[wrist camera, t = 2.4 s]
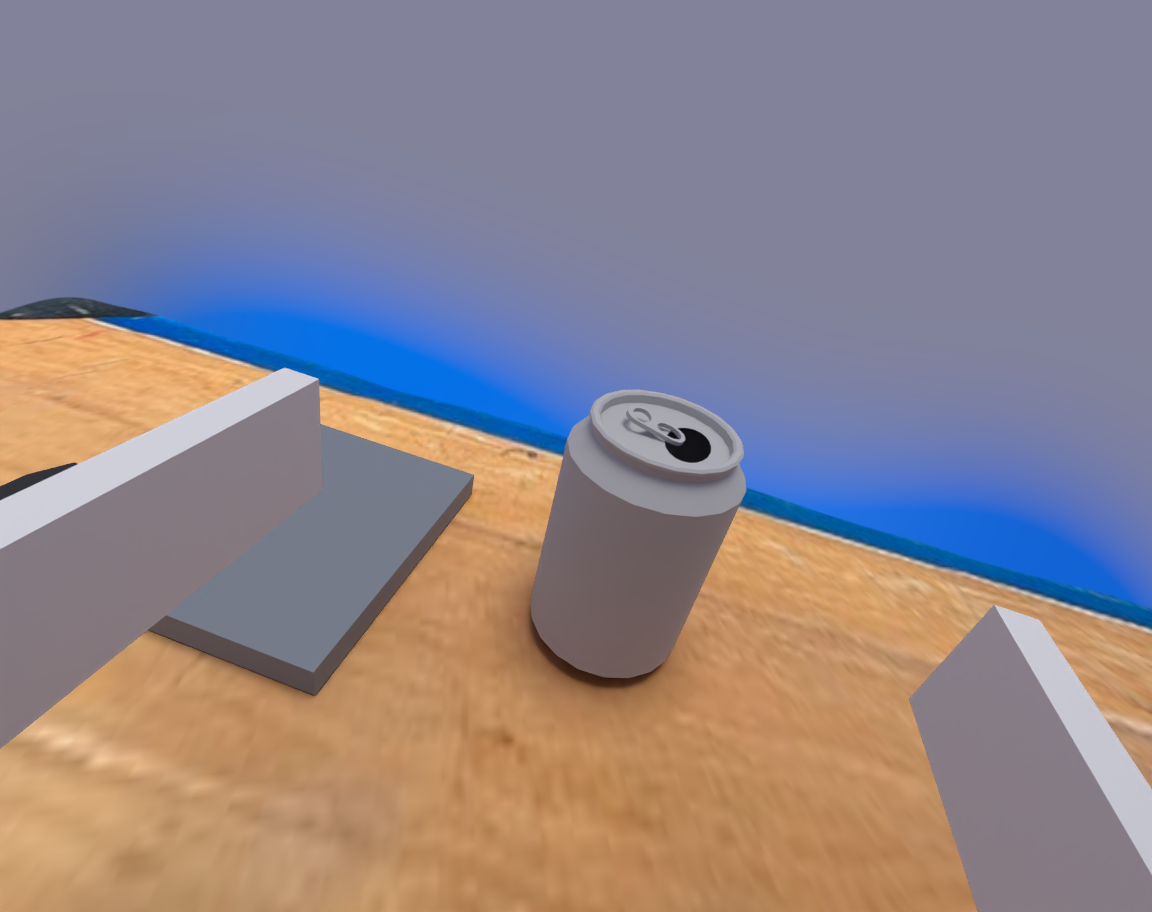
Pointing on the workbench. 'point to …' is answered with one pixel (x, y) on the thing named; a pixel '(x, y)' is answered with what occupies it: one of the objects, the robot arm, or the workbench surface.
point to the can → (634, 530)
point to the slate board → (323, 564)
